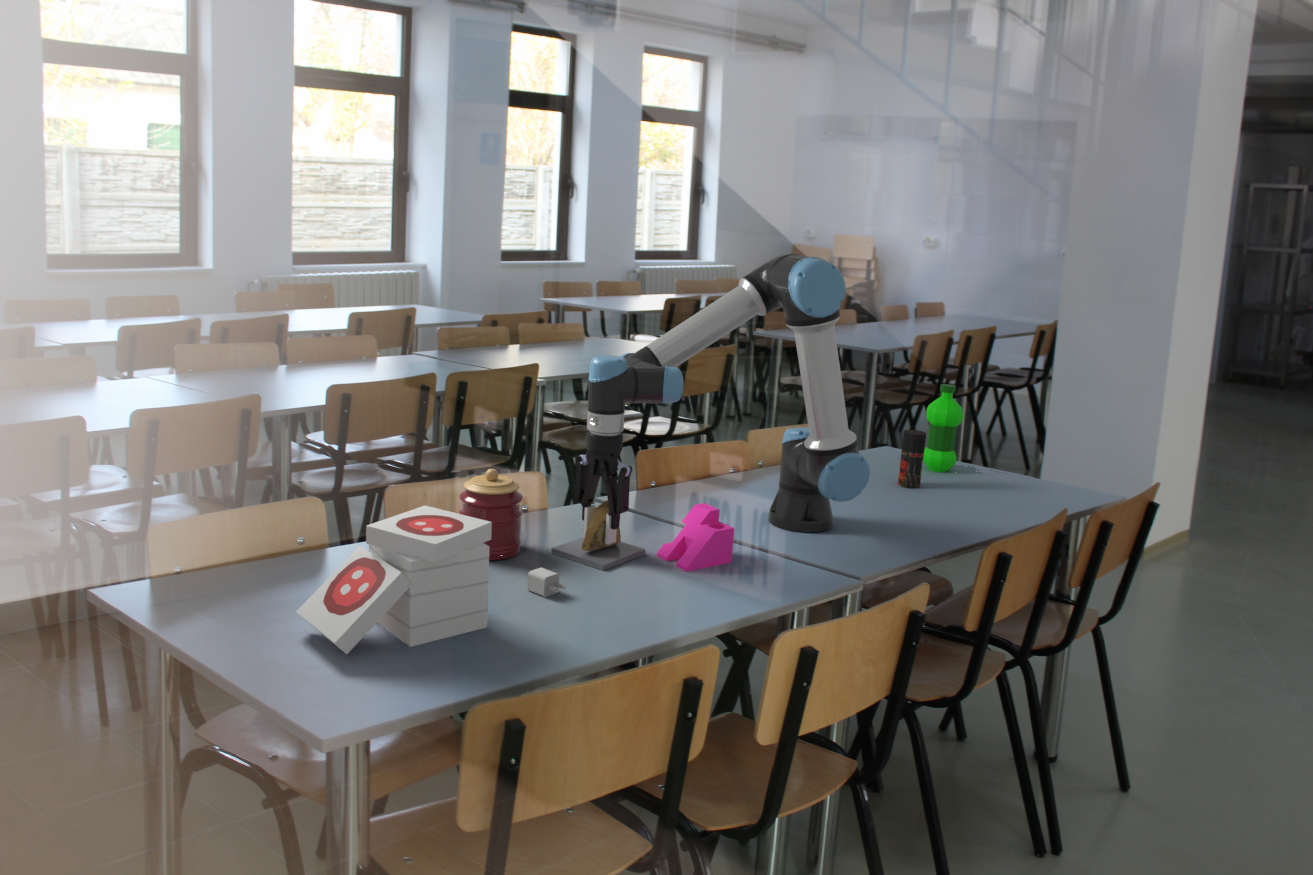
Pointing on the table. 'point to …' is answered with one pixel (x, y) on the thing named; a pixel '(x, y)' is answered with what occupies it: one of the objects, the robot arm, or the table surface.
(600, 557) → the slate board
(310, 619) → the pizza boxes
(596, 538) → the rock
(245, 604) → the table surface
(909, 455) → the deodorant
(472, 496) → the canister
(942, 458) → the plastic bottle
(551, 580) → the usb wall charger
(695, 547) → the bracket
